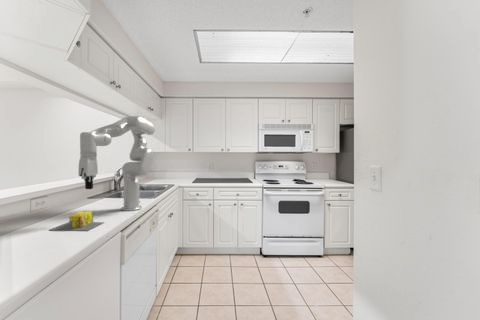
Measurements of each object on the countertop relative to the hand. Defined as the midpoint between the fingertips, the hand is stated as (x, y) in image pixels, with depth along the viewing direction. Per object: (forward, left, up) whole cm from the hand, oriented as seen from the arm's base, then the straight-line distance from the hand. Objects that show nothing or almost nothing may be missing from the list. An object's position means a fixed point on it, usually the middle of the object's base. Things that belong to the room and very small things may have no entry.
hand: (89, 188), depth 133 cm
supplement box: (+1, 0, -15) cm, 15 cm away
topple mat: (+9, 0, -18) cm, 20 cm away
